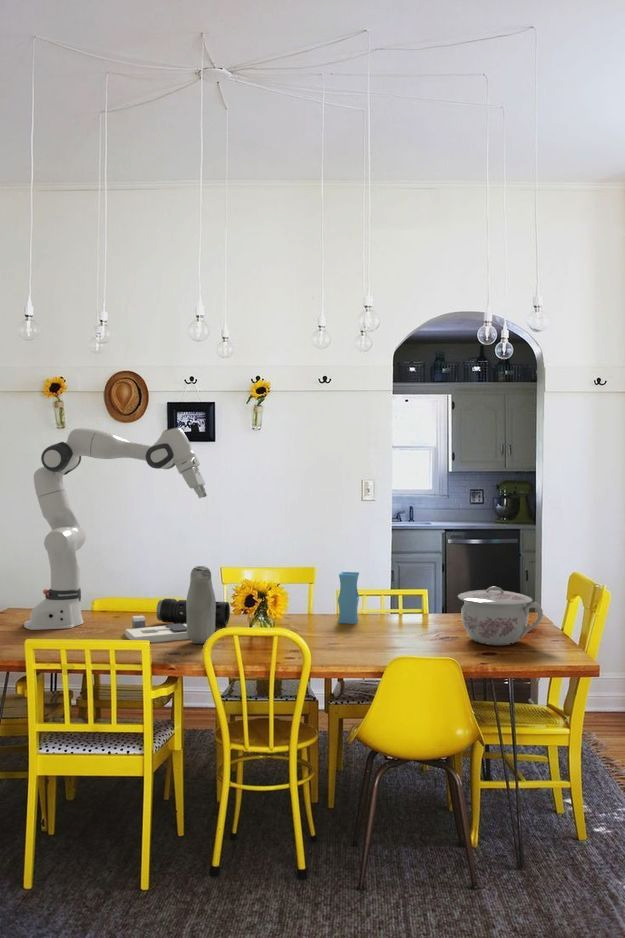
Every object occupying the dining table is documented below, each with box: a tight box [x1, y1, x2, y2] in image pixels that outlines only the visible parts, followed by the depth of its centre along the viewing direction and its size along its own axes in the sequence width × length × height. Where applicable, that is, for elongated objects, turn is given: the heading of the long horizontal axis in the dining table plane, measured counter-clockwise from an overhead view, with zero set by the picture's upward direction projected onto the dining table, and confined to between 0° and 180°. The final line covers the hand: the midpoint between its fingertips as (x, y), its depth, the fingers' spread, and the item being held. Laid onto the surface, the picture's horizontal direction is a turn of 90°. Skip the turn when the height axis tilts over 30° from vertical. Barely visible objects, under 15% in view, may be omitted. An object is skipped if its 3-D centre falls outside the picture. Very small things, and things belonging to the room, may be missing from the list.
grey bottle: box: [186, 565, 217, 645], centre depth 295 cm, size 10×10×28 cm
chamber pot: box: [457, 586, 544, 647], centre depth 303 cm, size 28×28×21 cm
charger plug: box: [131, 615, 146, 629], centre depth 311 cm, size 4×4×6 cm
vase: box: [337, 571, 360, 625], centre depth 336 cm, size 8×8×20 cm
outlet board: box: [125, 623, 190, 644], centre depth 304 cm, size 24×14×3 cm, turn 117°
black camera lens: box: [156, 598, 231, 628], centre depth 325 cm, size 10×28×10 cm, turn 81°
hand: (203, 497), depth 319 cm, fingers open, 8 cm apart
